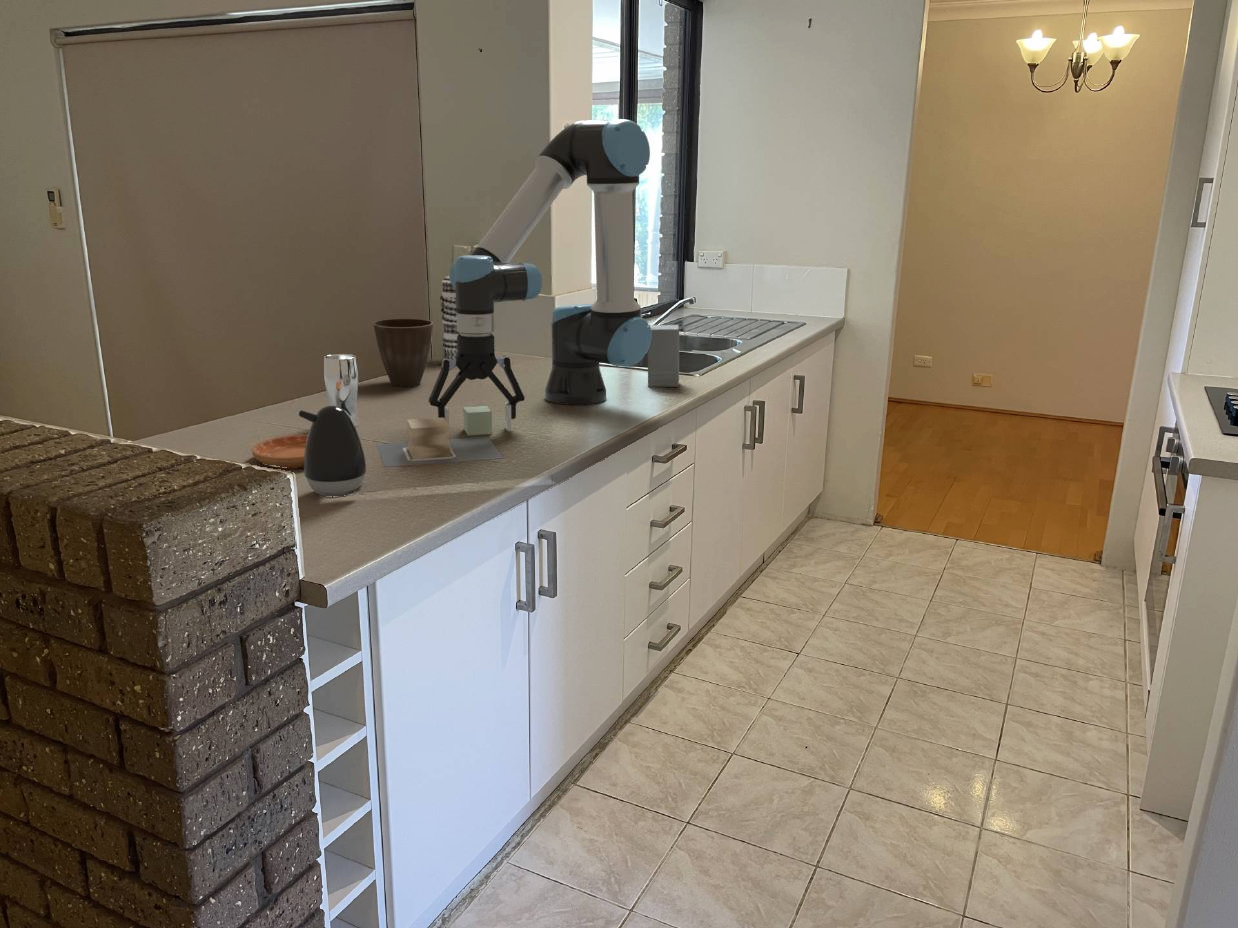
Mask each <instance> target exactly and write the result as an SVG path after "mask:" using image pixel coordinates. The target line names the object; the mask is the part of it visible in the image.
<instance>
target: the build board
mask: <svg viewBox="0 0 1238 928" xmlns="http://www.w3.org/2000/svg"><path fill="white" fill-rule="evenodd" d="M376 446H377V450H378V452H379V454H380V457H381V461H382V463H383V466H384V468H392V467H394V468H395V467H405V466H406V467H407V466H418V465H419V466H421V465H431V464H432V465H433V464H448V463H461V462H474V461H485V460H486V461H487V460H488V461H489V460H499V459H500V460H501V459H504V457H503V455H502V454H501V453H500V452H499V450H498V449H497V448H496V446H495V445H494V444H493V442H492V441H491V440H490V439H489V438H488V436H482V437H479V436H478V437H469V438H467V437H466V438H450V457H440V458H426V459H413V458H412V456H411V454H410V452H409V449H408V441H405V442H391V443H377V444H376Z"/></svg>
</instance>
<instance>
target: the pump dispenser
mask: <svg viewBox="0 0 1238 928" xmlns="http://www.w3.org/2000/svg"><path fill="white" fill-rule="evenodd" d="M298 416H299V417H300V418H302V419H304V420H306V421H309V422H311V425H310V428H309V431H308V433H307V435H308V436H307V441H306V446H305V453H304V468H303V476H304V477H305V478H306V480H307V483H308V485H309V487H310V488H311V489H312V490H313V491H314V492H315V493H317V494H318V495H320V496H323V497H326V496H332V497H331V498H334V497H333V496H342V497H345V496H344V495H346V496H349V495H351V494H353V493H354V491H355V490H357V489H359V488H360V487H361V485H363V481H364V480H365V474H366V473H367V461H366V456H365V453H364V452H365V451H364V448H363V443H362V441H361V438H360V435H359V432H358V430H357V429H356V427H355V426H354V424H353V422H352V420H351V418H350V417H349V415H348V414H347V413H346V412H345V410H343V409H342V408H340V407H338V406H330V405H326V406H325V407H322V408H320V409H319V410H318V412H317V413H316V414H315V413H312V412H309V411H305V410H302V409H301V410H299V412H298ZM348 494H349V495H348Z"/></svg>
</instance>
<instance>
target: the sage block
mask: <svg viewBox="0 0 1238 928" xmlns="http://www.w3.org/2000/svg"><path fill="white" fill-rule="evenodd" d="M462 409H463V410H462V413H463V414H462V416H463V430H464V431H465V433H466V434H467V436H476V435H477V436H478V435H490V434H492V435H493V417H492V415H493V414H492V410H491V409H490V408H489V407H488V406H487V405H485V406H484V405H481V406H479V405H478V406H466V407H464V406H463V407H462Z"/></svg>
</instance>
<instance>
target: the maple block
mask: <svg viewBox="0 0 1238 928" xmlns="http://www.w3.org/2000/svg"><path fill="white" fill-rule="evenodd" d="M406 422H407V424H406V425H407V442H408V449H409V452H410V454H411V456H412V458H413V459H426V458H440V457H450V439H451V437H450V436H451V433H450V431H451V429H450V424H449V425H448V423H447V422H446V420H445V419H444V418H438V417H428V418H427V417H426V418H414V419H406Z"/></svg>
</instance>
